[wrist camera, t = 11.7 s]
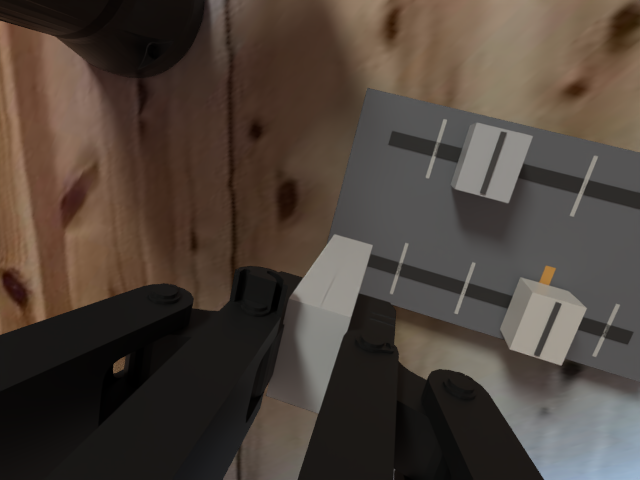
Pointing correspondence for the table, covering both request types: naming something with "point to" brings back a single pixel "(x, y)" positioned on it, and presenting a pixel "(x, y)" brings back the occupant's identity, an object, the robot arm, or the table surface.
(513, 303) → the fader rear
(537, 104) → the table surface
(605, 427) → the table surface
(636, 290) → the console
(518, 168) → the fader front
